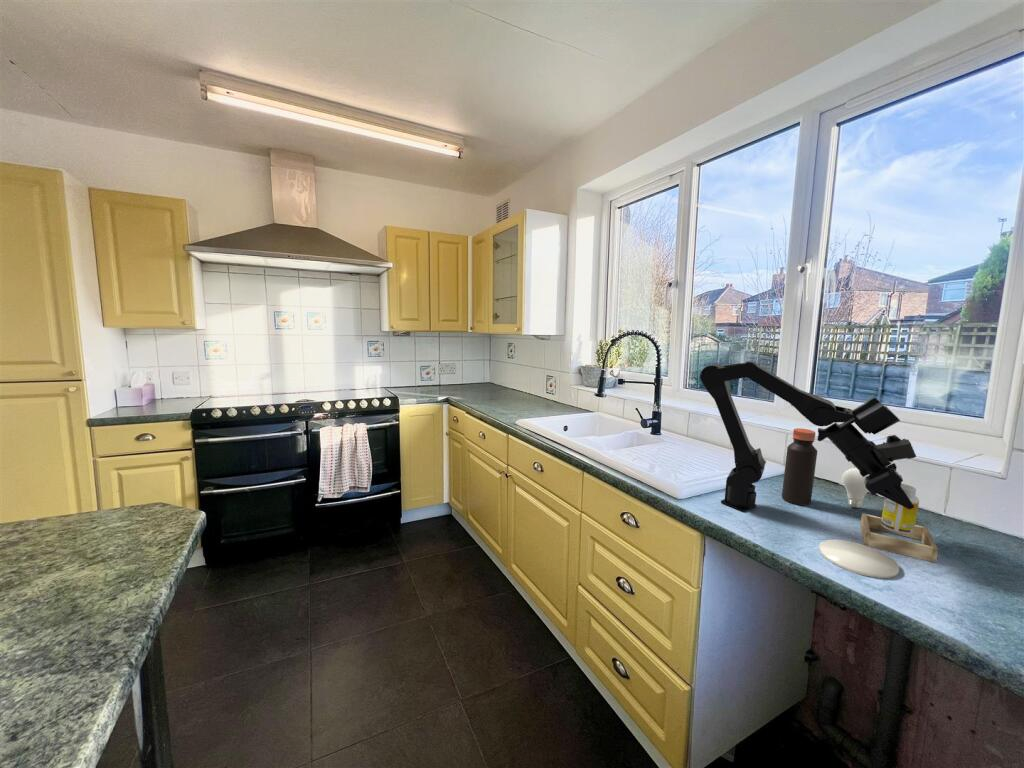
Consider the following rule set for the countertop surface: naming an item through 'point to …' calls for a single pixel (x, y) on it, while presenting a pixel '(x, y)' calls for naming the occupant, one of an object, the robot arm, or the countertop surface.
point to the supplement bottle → (900, 513)
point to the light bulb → (854, 487)
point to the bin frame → (899, 540)
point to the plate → (859, 558)
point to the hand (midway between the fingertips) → (909, 503)
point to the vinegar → (800, 468)
